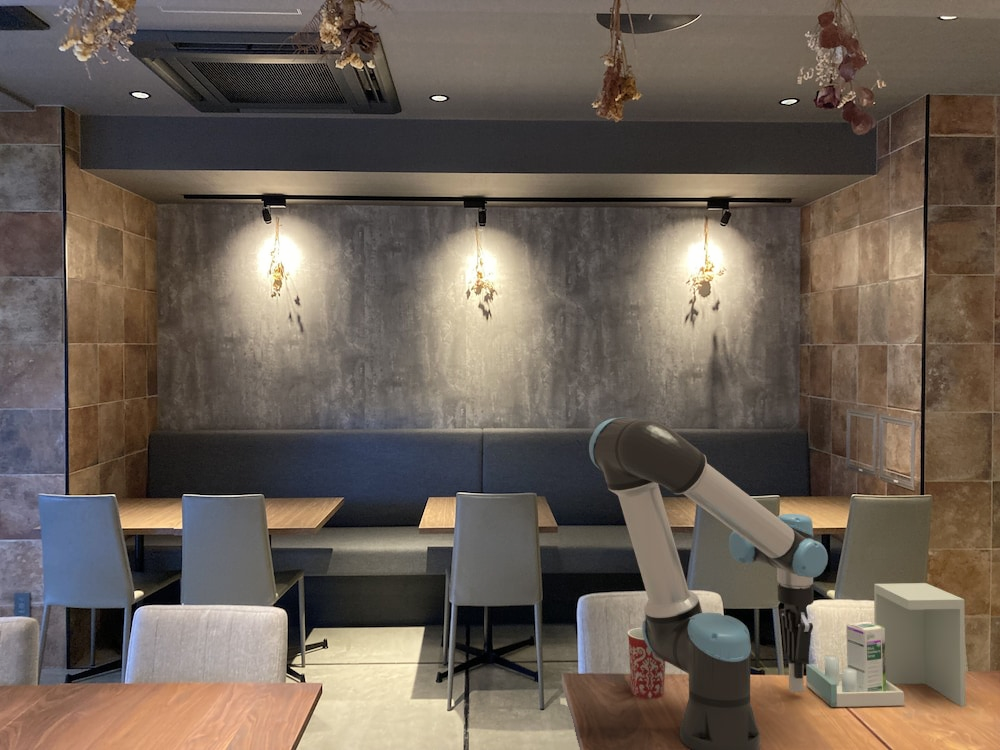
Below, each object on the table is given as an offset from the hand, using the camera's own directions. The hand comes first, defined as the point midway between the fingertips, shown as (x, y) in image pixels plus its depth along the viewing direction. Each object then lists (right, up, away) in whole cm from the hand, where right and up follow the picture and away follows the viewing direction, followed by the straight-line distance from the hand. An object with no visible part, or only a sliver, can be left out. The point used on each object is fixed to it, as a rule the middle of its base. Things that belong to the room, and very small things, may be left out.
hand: (796, 690), depth 187 cm
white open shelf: (+28, -1, +2) cm, 28 cm away
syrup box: (+16, 0, +1) cm, 16 cm away
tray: (+13, -1, +1) cm, 13 cm away
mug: (-32, -2, +5) cm, 33 cm away
